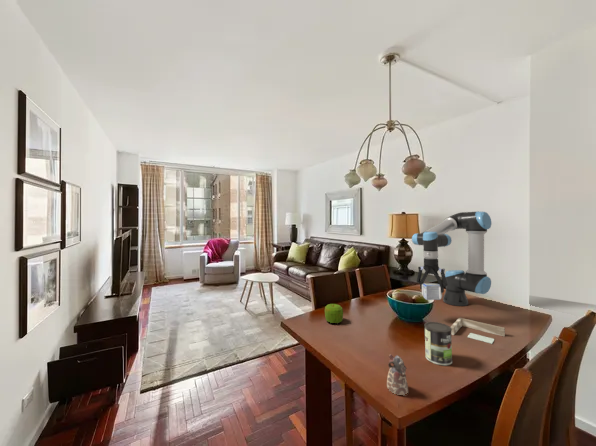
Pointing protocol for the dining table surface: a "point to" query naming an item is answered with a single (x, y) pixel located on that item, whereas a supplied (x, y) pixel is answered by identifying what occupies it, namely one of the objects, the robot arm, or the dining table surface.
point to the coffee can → (438, 343)
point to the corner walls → (477, 327)
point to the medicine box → (431, 291)
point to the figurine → (397, 376)
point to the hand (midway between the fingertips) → (431, 296)
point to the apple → (333, 313)
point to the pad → (481, 338)
